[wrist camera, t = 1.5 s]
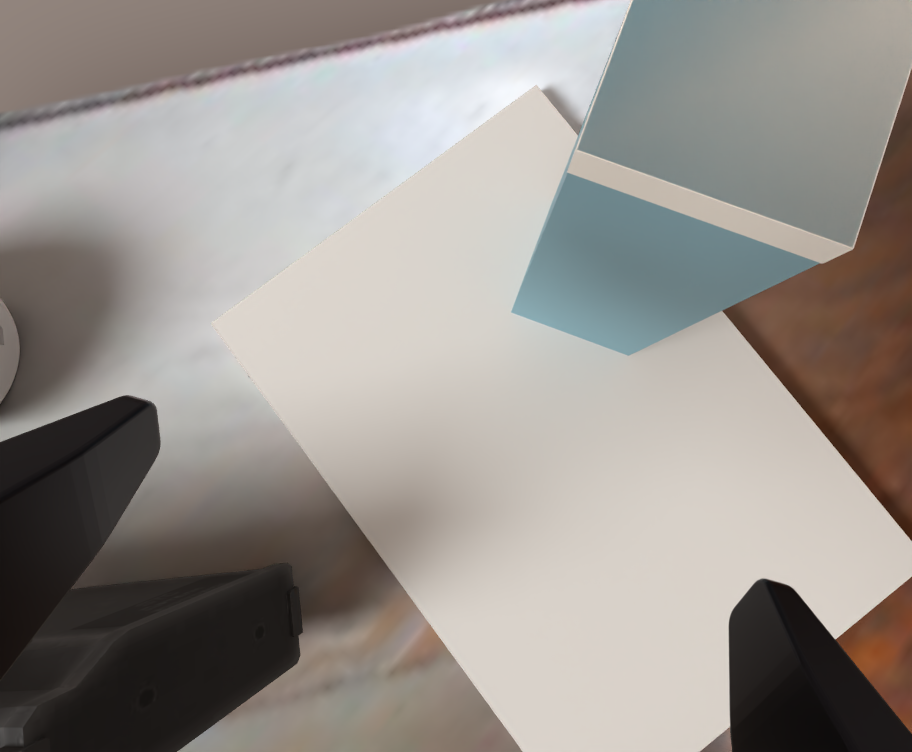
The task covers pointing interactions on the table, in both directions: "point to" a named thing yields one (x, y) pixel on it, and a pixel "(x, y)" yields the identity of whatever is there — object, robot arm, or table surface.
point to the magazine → (149, 662)
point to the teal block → (717, 161)
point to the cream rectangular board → (554, 458)
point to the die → (7, 350)
